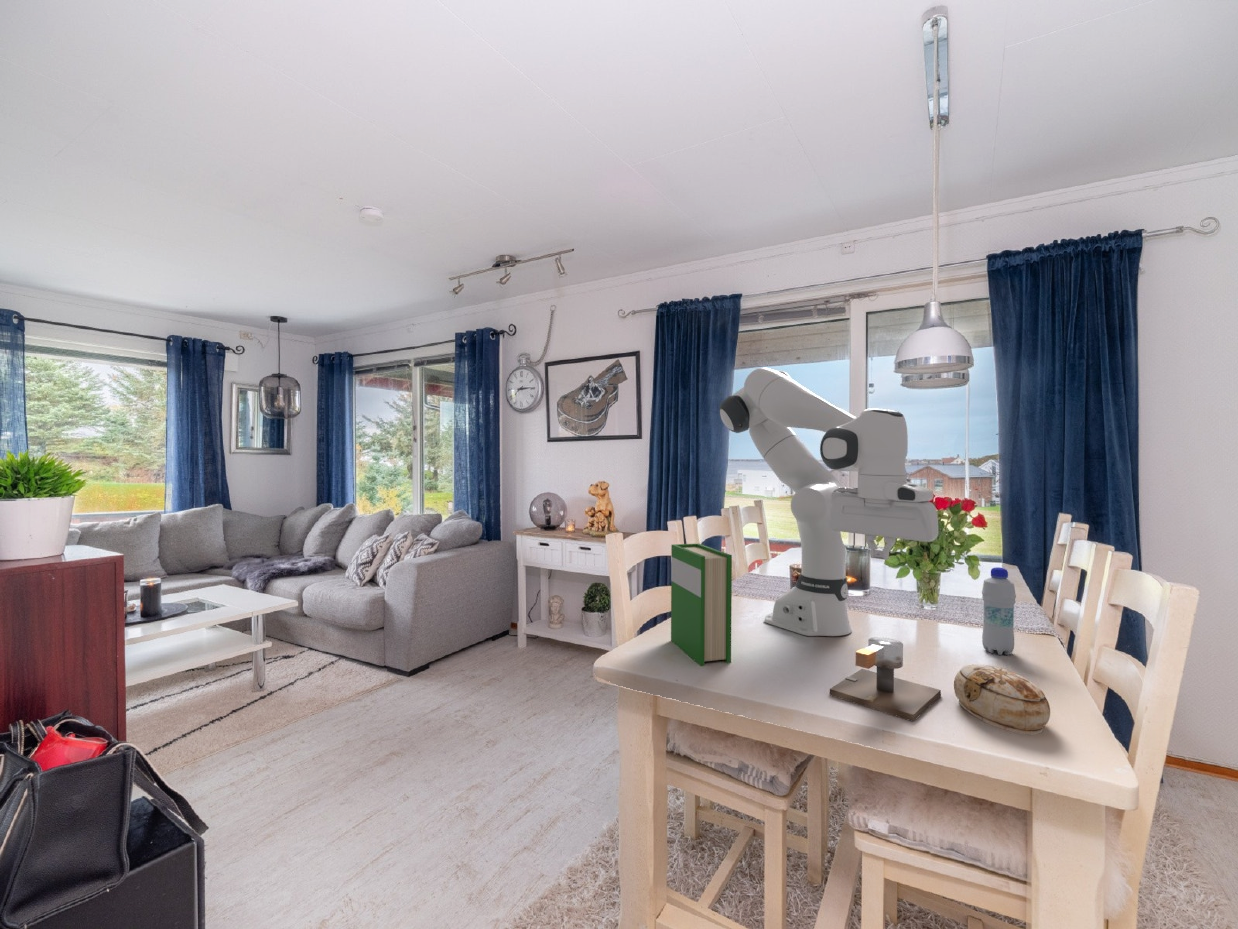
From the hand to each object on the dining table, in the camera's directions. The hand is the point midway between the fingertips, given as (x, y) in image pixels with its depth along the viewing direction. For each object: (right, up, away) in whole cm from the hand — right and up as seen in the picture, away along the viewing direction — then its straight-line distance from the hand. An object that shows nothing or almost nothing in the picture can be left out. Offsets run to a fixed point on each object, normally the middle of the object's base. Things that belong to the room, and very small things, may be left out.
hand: (879, 558), depth 112 cm
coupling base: (-1, -26, -4) cm, 26 cm away
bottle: (+38, -26, +20) cm, 50 cm away
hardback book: (-33, -25, +20) cm, 46 cm away
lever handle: (-4, -19, -7) cm, 21 cm away
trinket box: (+16, -26, -12) cm, 33 cm away
